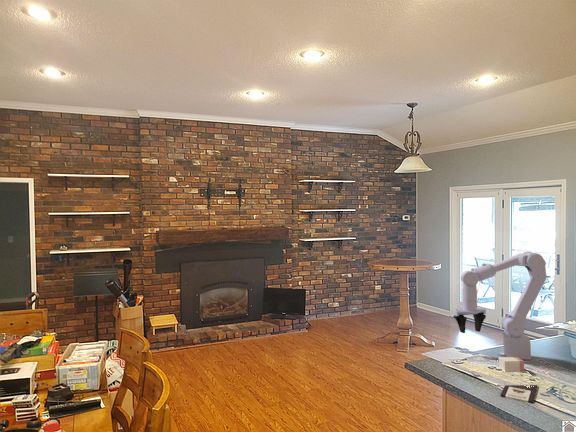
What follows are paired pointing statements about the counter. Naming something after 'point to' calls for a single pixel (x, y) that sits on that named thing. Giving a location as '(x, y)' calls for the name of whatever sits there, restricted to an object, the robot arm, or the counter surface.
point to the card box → (511, 364)
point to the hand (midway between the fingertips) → (470, 331)
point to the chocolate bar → (519, 392)
